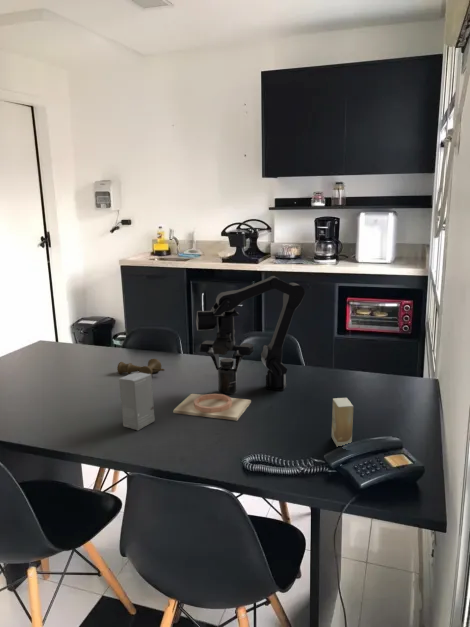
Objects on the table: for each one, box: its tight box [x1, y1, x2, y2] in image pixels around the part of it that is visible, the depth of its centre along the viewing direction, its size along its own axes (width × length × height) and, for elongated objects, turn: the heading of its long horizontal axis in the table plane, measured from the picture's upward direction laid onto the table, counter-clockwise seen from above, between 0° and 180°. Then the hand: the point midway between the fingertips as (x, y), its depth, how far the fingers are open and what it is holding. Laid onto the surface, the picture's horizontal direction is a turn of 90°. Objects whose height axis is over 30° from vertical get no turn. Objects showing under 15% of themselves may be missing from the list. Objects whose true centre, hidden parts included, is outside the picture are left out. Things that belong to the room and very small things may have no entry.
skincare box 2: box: [331, 397, 354, 448], centre depth 142 cm, size 6×4×12 cm
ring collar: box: [194, 393, 232, 413], centre depth 169 cm, size 12×12×2 cm
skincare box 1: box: [118, 371, 156, 431], centre depth 156 cm, size 8×7×16 cm
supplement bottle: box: [217, 357, 238, 396], centre depth 182 cm, size 7×7×12 cm
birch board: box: [172, 393, 252, 421], centre depth 169 cm, size 22×15×1 cm
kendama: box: [116, 358, 166, 378], centre depth 202 cm, size 6×10×20 cm
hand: (227, 370), depth 181 cm, fingers closed on supplement bottle, 7 cm apart
